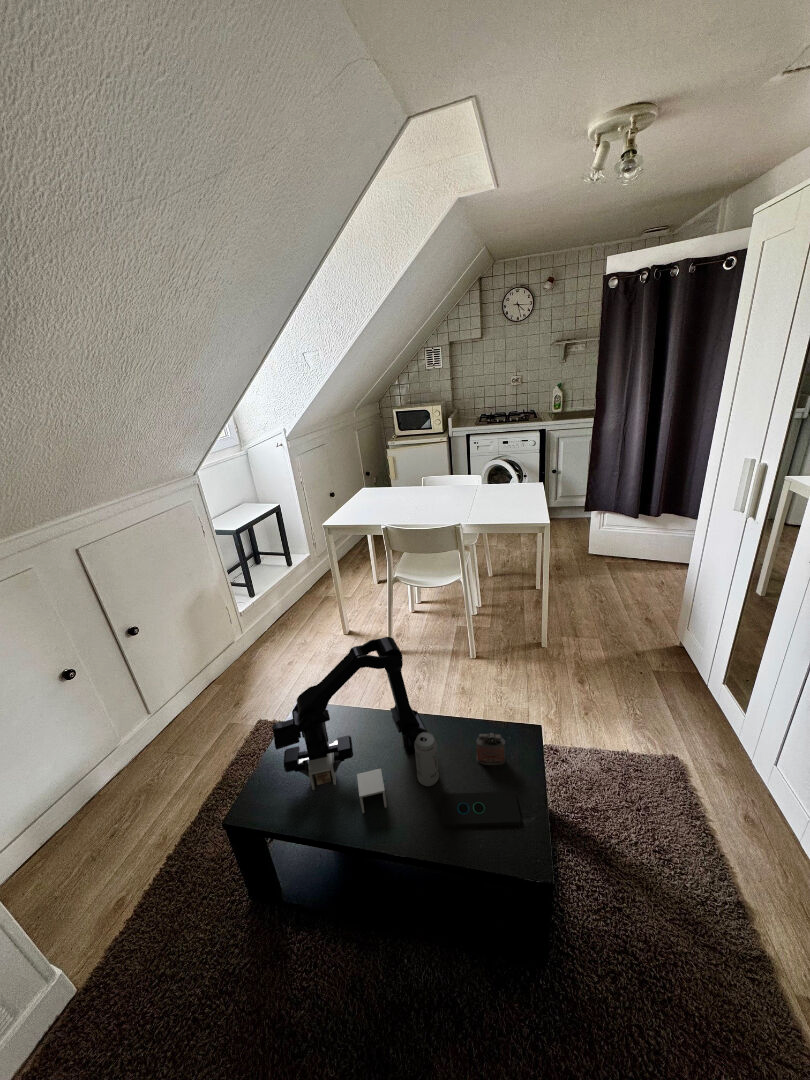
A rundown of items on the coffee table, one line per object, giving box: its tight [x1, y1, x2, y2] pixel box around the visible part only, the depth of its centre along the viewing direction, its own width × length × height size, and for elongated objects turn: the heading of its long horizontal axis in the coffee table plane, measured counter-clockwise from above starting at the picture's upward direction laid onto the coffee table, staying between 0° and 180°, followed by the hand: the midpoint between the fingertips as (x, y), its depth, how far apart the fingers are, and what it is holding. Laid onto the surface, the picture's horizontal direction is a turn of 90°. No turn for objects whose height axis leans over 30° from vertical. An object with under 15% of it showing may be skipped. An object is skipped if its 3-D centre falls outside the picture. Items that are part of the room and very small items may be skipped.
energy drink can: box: [414, 732, 440, 787], centre depth 115 cm, size 6×6×15 cm
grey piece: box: [308, 753, 337, 791], centre depth 120 cm, size 7×7×6 cm
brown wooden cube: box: [315, 770, 332, 786], centre depth 120 cm, size 4×4×4 cm
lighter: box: [475, 732, 506, 766], centre depth 120 cm, size 8×3×10 cm, turn 84°
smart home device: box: [439, 791, 522, 828], centre depth 109 cm, size 8×2×20 cm
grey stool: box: [356, 768, 388, 814], centre depth 113 cm, size 7×7×6 cm
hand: (323, 773), depth 121 cm, fingers closed on grey piece, 7 cm apart
